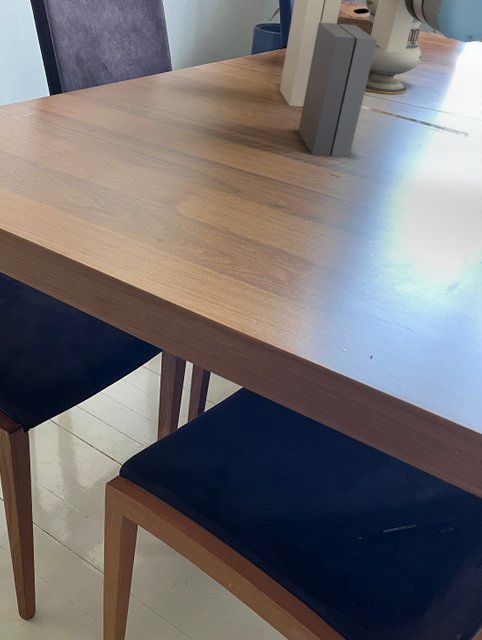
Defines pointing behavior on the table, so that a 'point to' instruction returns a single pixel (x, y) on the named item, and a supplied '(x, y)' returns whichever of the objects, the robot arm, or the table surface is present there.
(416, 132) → the table surface
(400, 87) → the apothecary jar
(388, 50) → the white book
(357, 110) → the grey books
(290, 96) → the white books
